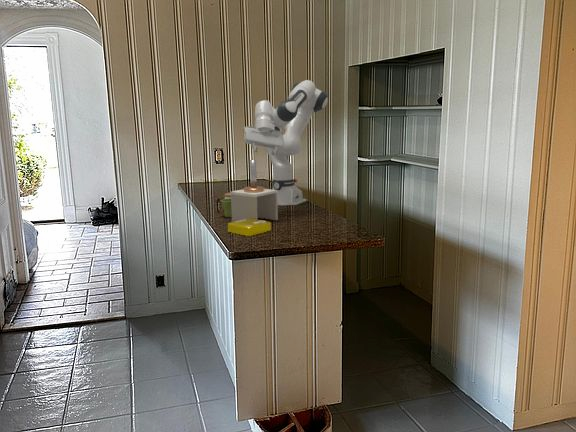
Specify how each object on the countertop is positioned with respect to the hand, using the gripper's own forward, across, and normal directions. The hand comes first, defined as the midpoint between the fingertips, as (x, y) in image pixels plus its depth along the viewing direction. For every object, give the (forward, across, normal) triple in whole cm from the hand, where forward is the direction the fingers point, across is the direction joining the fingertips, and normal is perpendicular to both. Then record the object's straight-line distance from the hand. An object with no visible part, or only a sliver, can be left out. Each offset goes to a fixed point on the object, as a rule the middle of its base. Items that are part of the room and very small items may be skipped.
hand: (264, 153), depth 255 cm
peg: (+26, -1, +14) cm, 30 cm away
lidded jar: (+7, 0, +49) cm, 50 cm away
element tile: (+42, -8, +2) cm, 43 cm away
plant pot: (+22, -8, +31) cm, 39 cm away
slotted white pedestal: (+29, 0, +16) cm, 34 cm away
